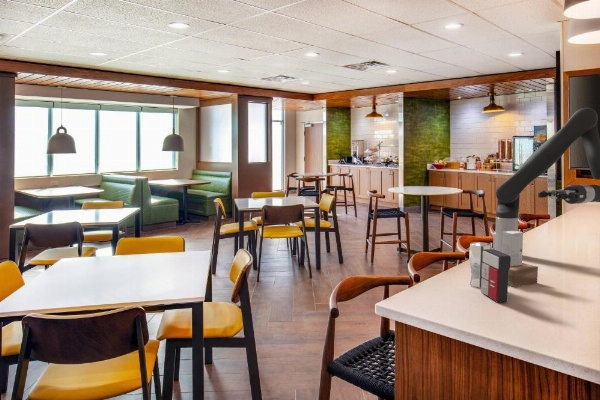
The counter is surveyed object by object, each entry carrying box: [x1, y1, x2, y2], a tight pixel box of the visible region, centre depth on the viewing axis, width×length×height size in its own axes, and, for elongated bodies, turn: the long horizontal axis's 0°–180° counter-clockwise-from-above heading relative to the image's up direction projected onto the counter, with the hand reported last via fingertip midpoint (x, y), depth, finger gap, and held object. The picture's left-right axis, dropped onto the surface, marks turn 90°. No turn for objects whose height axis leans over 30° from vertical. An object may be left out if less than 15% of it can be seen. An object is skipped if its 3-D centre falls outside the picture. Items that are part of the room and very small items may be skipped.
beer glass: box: [468, 241, 491, 289], centre depth 162 cm, size 7×7×15 cm
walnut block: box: [508, 262, 539, 288], centre depth 168 cm, size 12×12×6 cm
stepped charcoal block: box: [480, 248, 511, 304], centre depth 149 cm, size 11×4×15 cm, turn 5°
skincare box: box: [502, 231, 524, 267], centre depth 168 cm, size 6×4×12 cm
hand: (548, 195), depth 178 cm, fingers open, 8 cm apart
